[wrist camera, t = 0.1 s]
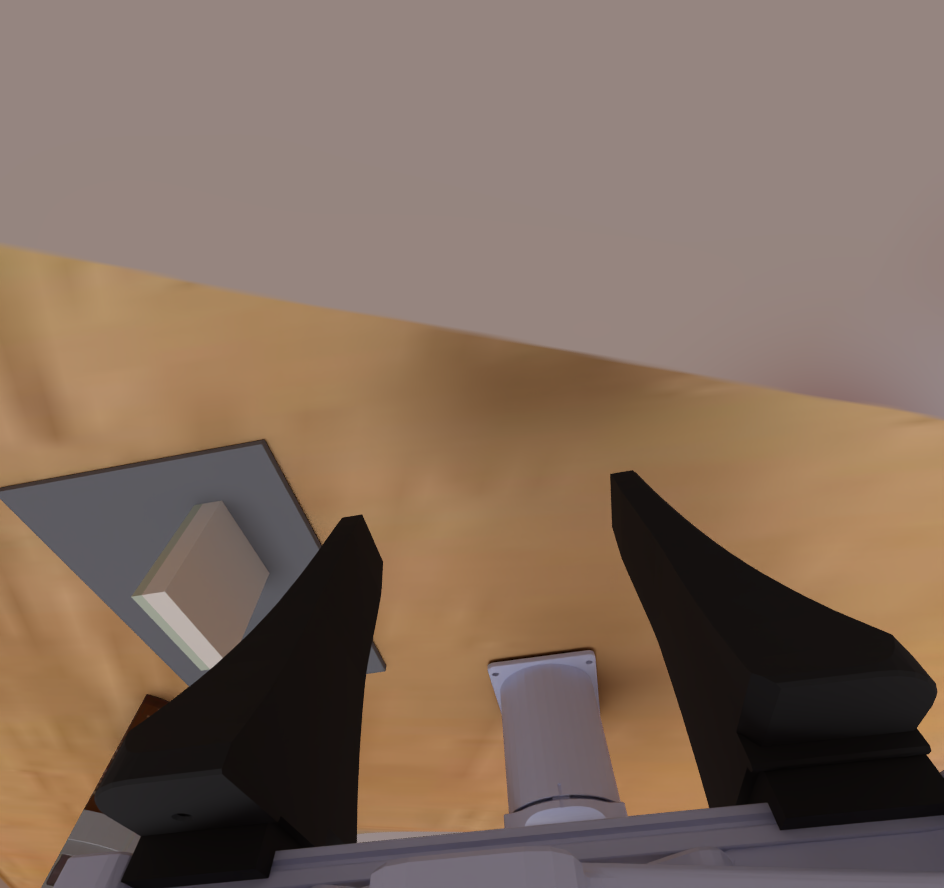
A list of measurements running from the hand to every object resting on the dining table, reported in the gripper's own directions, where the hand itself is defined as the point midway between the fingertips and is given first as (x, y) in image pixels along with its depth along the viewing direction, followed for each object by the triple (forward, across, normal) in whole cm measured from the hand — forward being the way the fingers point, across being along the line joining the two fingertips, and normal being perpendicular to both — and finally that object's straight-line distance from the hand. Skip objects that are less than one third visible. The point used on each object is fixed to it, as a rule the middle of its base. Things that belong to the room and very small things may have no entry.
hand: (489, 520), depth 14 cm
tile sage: (+10, +16, +8) cm, 20 cm away
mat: (+10, +19, +12) cm, 25 cm away
